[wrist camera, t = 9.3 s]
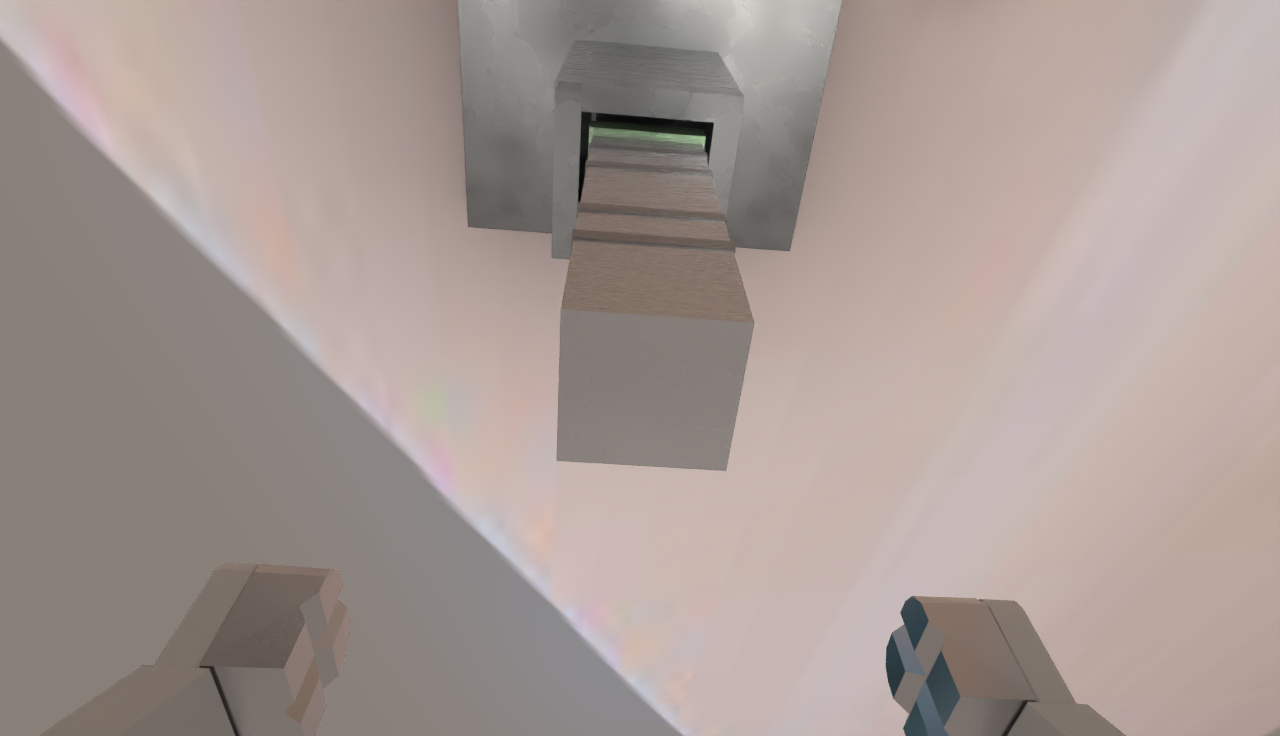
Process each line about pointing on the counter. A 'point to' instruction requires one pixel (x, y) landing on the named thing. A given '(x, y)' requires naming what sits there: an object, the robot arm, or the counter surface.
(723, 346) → the column
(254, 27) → the counter surface
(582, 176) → the stand base
